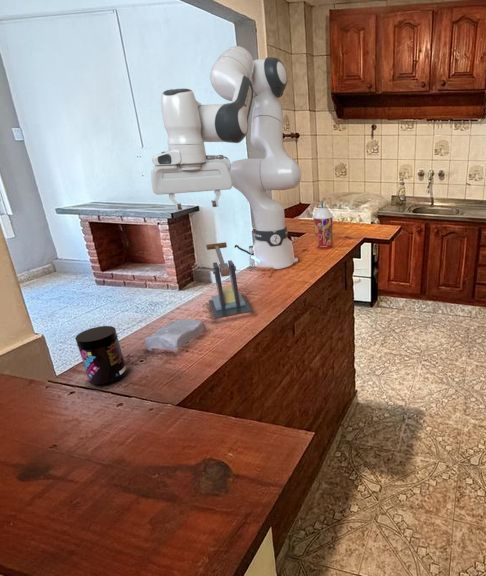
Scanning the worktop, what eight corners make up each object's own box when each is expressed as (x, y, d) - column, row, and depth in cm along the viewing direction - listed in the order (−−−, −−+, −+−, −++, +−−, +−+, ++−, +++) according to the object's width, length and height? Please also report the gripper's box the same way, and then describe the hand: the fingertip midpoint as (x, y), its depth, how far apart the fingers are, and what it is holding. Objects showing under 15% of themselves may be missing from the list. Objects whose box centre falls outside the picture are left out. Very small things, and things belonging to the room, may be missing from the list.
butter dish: (211, 298, 118) (209, 286, 117) (239, 293, 121) (237, 282, 120) (216, 310, 110) (214, 298, 108) (245, 305, 113) (243, 292, 112)
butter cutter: (209, 304, 117) (201, 259, 112) (243, 298, 121) (237, 254, 117) (215, 322, 106) (206, 273, 101) (253, 315, 110) (247, 267, 105)
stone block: (144, 358, 92) (179, 354, 90) (136, 339, 91) (172, 335, 88) (177, 336, 103) (210, 332, 101) (171, 319, 102) (203, 314, 99)
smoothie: (335, 248, 172) (333, 202, 165) (316, 250, 171) (312, 203, 163) (332, 244, 180) (330, 199, 173) (314, 245, 178) (311, 200, 171)
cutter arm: (206, 249, 117) (205, 242, 116) (226, 246, 120) (225, 240, 118) (215, 277, 108) (214, 270, 106) (236, 274, 110) (235, 267, 109)
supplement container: (97, 371, 84) (84, 327, 81) (132, 367, 86) (120, 324, 82) (83, 390, 78) (68, 343, 74) (121, 385, 79) (107, 339, 76)
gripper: (227, 154, 112) (234, 203, 117) (146, 157, 104) (157, 210, 109) (230, 154, 107) (238, 206, 112) (145, 158, 98) (157, 214, 104)
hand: (197, 208), depth 110 cm, fingers open, 8 cm apart
